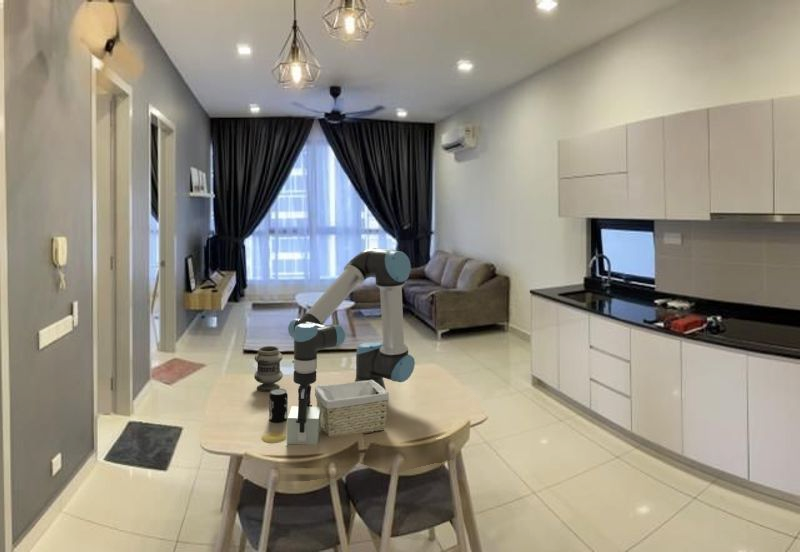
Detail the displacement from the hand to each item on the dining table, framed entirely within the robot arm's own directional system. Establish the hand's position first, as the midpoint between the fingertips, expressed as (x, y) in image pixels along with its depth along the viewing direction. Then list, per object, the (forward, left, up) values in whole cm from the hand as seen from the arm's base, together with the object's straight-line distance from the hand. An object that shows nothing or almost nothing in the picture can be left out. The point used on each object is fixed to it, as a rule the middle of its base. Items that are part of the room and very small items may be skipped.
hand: (303, 433), depth 167 cm
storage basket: (-16, -11, -3) cm, 19 cm away
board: (+5, 0, -3) cm, 6 cm away
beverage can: (+11, -15, -3) cm, 19 cm away
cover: (0, 0, -2) cm, 2 cm away
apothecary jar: (+21, -51, -3) cm, 55 cm away
